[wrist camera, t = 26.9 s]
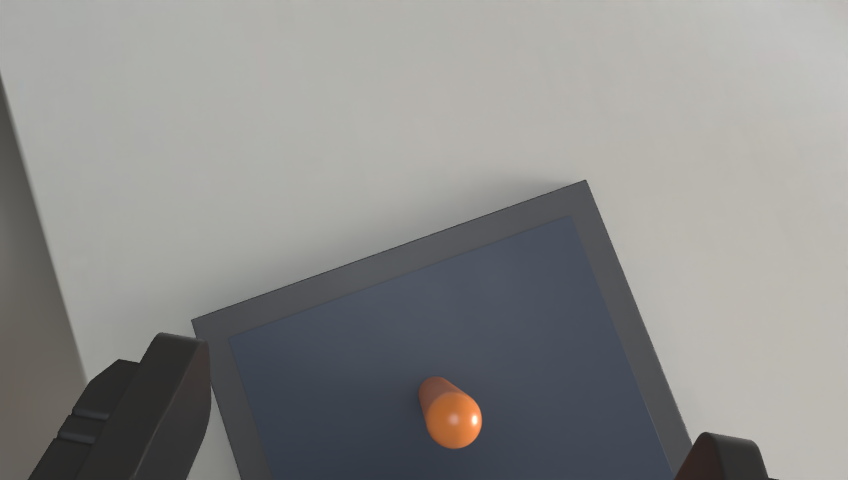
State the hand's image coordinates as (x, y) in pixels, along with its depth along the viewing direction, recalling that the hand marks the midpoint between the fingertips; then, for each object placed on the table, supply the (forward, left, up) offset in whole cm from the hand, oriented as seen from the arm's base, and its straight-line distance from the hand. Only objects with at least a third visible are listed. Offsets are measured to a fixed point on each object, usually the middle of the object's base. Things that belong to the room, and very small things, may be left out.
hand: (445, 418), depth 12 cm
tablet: (+1, -3, -24) cm, 24 cm away
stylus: (0, -1, -22) cm, 22 cm away
